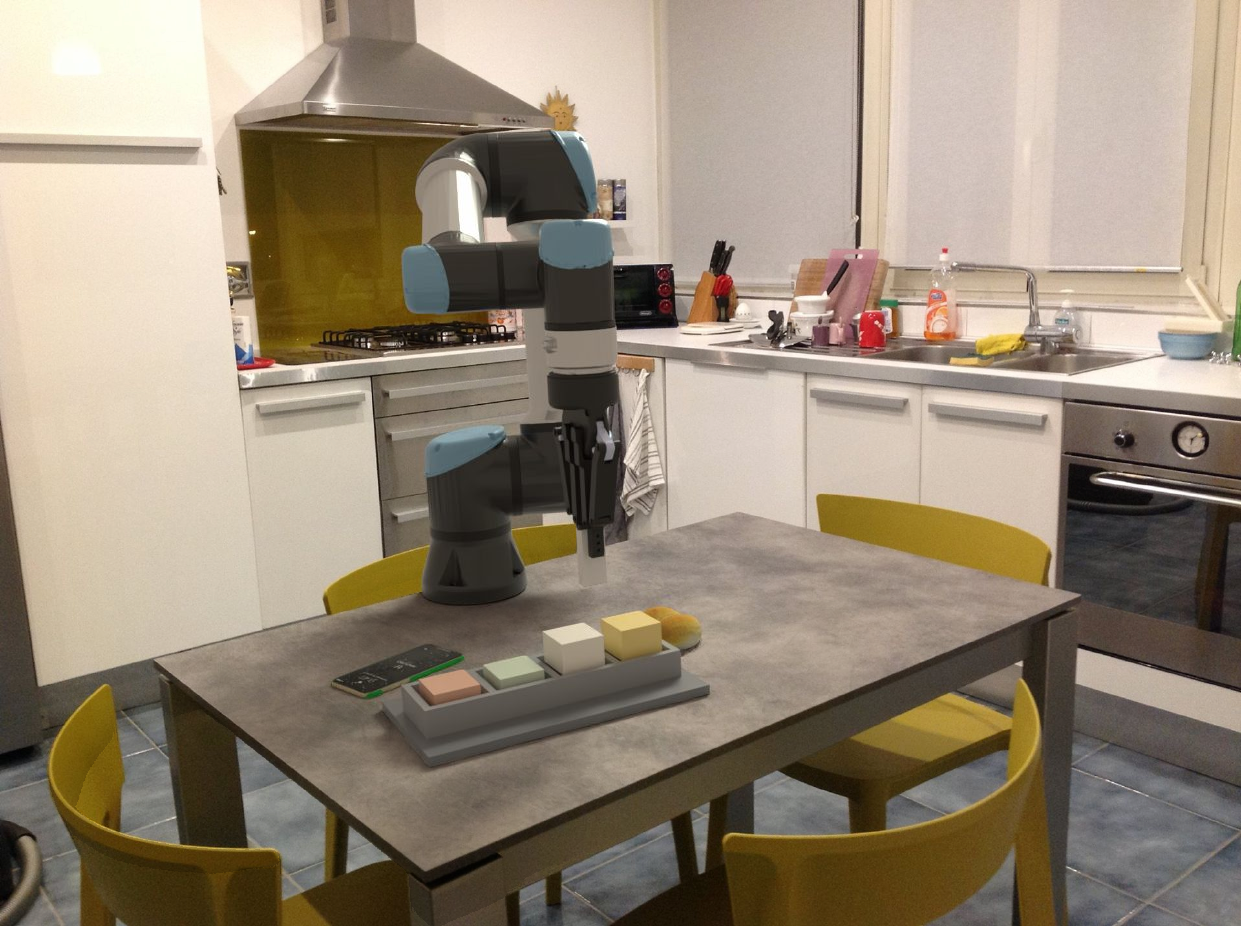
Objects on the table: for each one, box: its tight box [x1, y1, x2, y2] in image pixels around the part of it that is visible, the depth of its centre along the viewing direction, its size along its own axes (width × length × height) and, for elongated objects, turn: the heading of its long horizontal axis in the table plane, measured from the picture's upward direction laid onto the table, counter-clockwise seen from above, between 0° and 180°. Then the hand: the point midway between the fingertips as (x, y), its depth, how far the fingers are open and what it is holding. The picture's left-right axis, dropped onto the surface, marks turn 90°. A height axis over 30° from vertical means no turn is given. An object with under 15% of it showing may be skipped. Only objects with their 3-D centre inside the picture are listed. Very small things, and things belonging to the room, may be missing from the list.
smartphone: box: [330, 643, 465, 699], centre depth 134 cm, size 8×1×15 cm
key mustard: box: [600, 610, 662, 661], centre depth 127 cm, size 5×5×4 cm
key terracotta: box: [418, 668, 481, 707], centre depth 118 cm, size 5×5×4 cm
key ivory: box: [542, 622, 605, 675], centre depth 124 cm, size 5×5×4 cm
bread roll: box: [642, 606, 703, 651], centre depth 140 cm, size 8×9×4 cm
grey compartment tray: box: [381, 640, 711, 768], centre depth 123 cm, size 16×32×4 cm, turn 118°
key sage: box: [482, 654, 545, 691], centre depth 121 cm, size 5×5×4 cm
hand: (592, 583), depth 124 cm, fingers closed
